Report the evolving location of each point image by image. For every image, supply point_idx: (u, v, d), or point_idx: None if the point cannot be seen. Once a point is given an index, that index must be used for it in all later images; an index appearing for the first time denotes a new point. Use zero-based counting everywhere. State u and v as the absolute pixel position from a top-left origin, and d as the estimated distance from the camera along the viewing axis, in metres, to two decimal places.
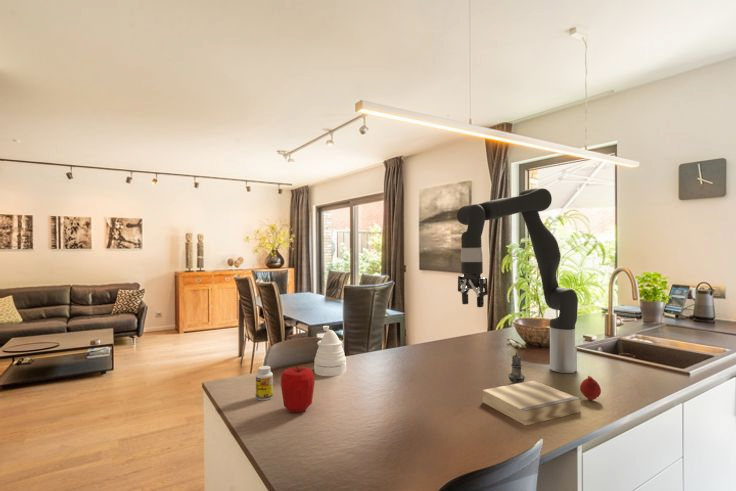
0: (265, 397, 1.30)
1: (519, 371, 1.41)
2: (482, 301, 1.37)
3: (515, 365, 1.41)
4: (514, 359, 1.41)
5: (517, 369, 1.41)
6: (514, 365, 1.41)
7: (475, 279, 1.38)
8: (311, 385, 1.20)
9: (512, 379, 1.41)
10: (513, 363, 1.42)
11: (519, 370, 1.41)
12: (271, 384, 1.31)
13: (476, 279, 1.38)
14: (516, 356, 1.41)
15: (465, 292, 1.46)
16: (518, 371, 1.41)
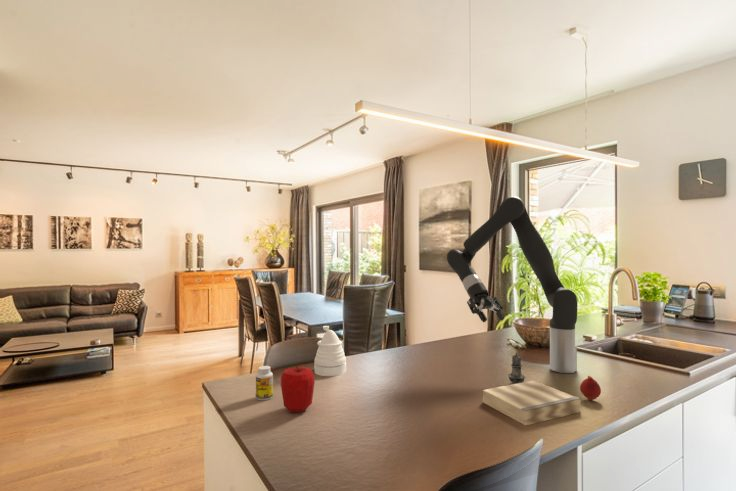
0: (265, 397, 1.30)
1: (519, 371, 1.41)
2: (480, 316, 1.52)
3: (515, 365, 1.41)
4: (514, 359, 1.41)
5: (517, 369, 1.41)
6: (514, 365, 1.41)
7: None
8: (311, 385, 1.20)
9: (512, 379, 1.41)
10: (513, 363, 1.42)
11: (519, 370, 1.41)
12: (271, 384, 1.31)
13: None
14: (516, 356, 1.41)
15: (497, 310, 1.57)
16: (518, 371, 1.41)
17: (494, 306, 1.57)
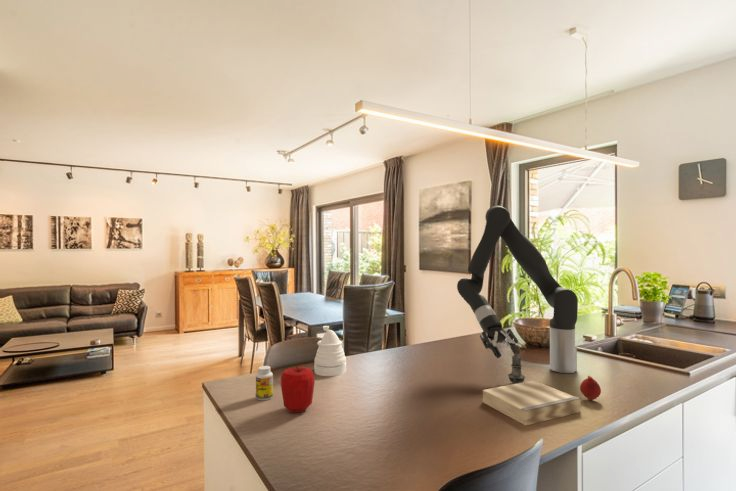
0: (265, 397, 1.30)
1: (519, 371, 1.41)
2: (494, 351, 1.45)
3: (515, 365, 1.41)
4: (514, 359, 1.41)
5: (517, 369, 1.41)
6: (514, 365, 1.41)
7: None
8: (311, 385, 1.20)
9: (512, 379, 1.41)
10: (513, 363, 1.42)
11: (519, 370, 1.41)
12: (271, 384, 1.31)
13: None
14: (516, 356, 1.41)
15: (511, 344, 1.50)
16: (518, 371, 1.41)
17: (508, 340, 1.50)
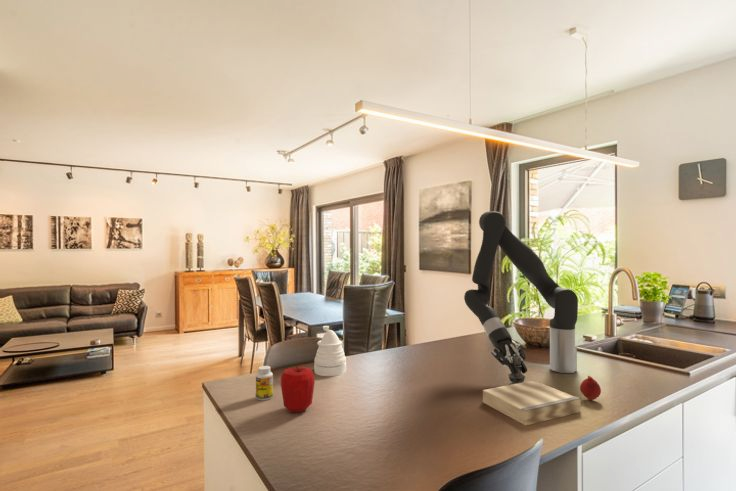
0: (265, 397, 1.30)
1: (519, 371, 1.41)
2: (511, 368, 1.40)
3: (515, 365, 1.41)
4: (514, 359, 1.41)
5: (517, 369, 1.41)
6: None
7: None
8: (311, 385, 1.20)
9: (512, 379, 1.41)
10: None
11: (519, 370, 1.41)
12: (271, 384, 1.31)
13: None
14: (516, 356, 1.41)
15: None
16: (518, 371, 1.41)
17: None
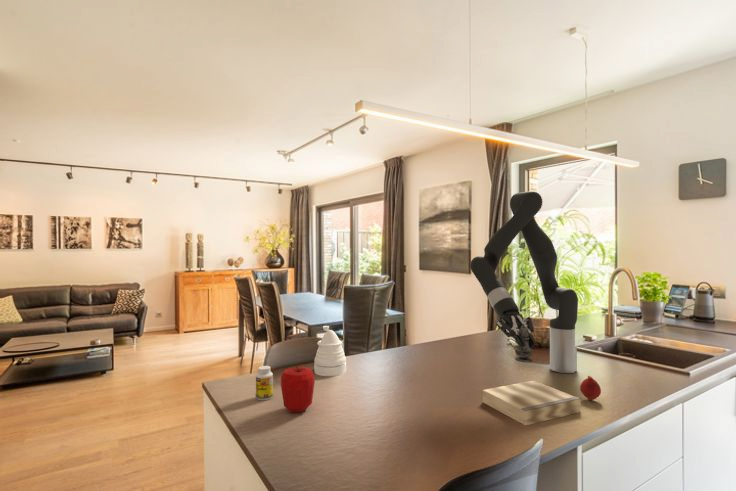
0: (265, 397, 1.30)
1: (526, 344, 1.29)
2: (517, 340, 1.28)
3: (522, 337, 1.29)
4: (521, 331, 1.29)
5: None
6: None
7: None
8: (311, 385, 1.20)
9: (519, 352, 1.29)
10: None
11: (526, 343, 1.29)
12: (271, 384, 1.31)
13: None
14: (523, 327, 1.29)
15: None
16: None
17: None
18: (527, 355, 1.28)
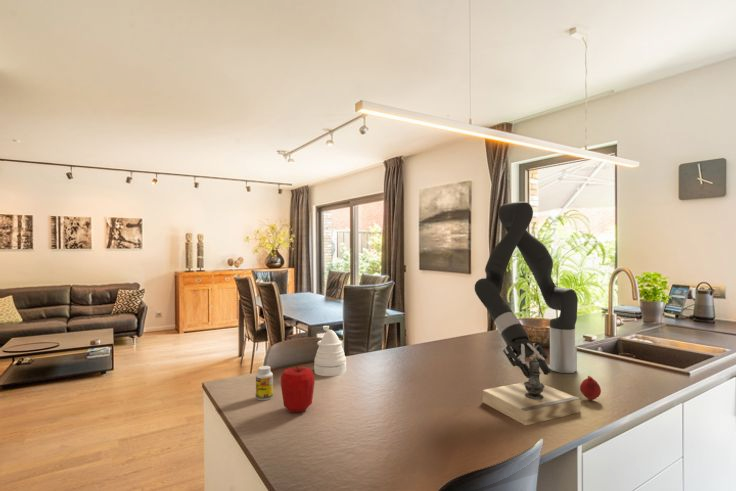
0: (265, 397, 1.30)
1: (537, 379, 1.21)
2: (524, 370, 1.20)
3: (533, 372, 1.21)
4: (531, 365, 1.21)
5: (535, 377, 1.20)
6: (531, 372, 1.21)
7: None
8: (311, 385, 1.20)
9: (529, 388, 1.20)
10: (530, 370, 1.21)
11: (537, 378, 1.21)
12: (271, 384, 1.31)
13: None
14: (534, 362, 1.21)
15: (539, 361, 1.24)
16: (536, 379, 1.20)
17: (536, 355, 1.24)
18: (538, 392, 1.20)
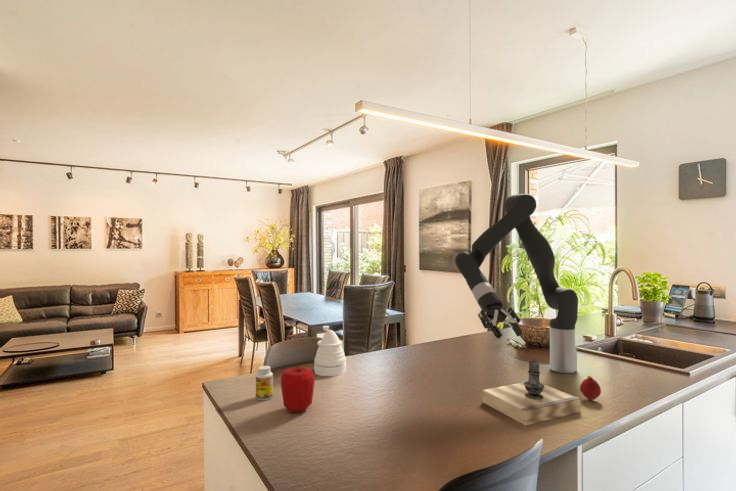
0: (265, 397, 1.30)
1: (537, 379, 1.21)
2: (494, 331, 1.30)
3: (532, 372, 1.21)
4: (531, 365, 1.21)
5: (534, 377, 1.21)
6: (531, 372, 1.21)
7: None
8: (311, 385, 1.20)
9: (529, 388, 1.20)
10: (530, 370, 1.21)
11: (537, 378, 1.21)
12: (271, 384, 1.31)
13: None
14: (534, 361, 1.21)
15: (512, 324, 1.36)
16: (536, 379, 1.21)
17: (509, 319, 1.36)
18: (538, 392, 1.20)
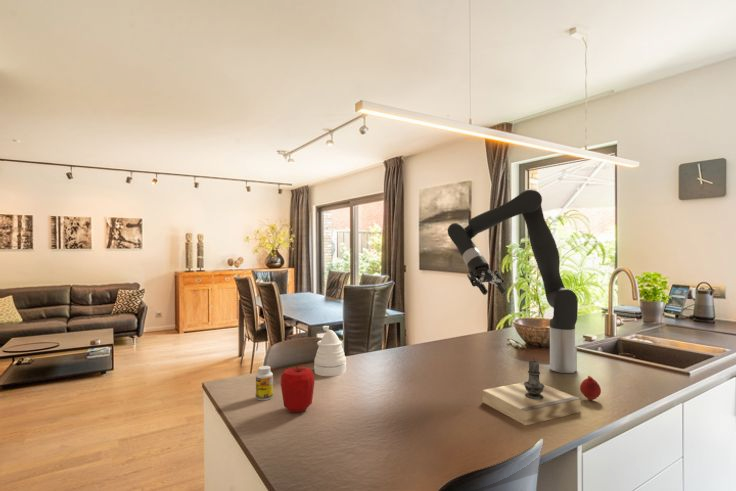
0: (265, 397, 1.30)
1: (537, 379, 1.21)
2: (481, 288, 1.49)
3: (533, 372, 1.21)
4: (531, 365, 1.21)
5: (534, 377, 1.21)
6: (531, 372, 1.21)
7: None
8: (311, 385, 1.20)
9: (529, 388, 1.20)
10: (530, 370, 1.21)
11: (537, 378, 1.21)
12: (271, 384, 1.31)
13: None
14: (534, 362, 1.21)
15: (498, 283, 1.54)
16: (536, 379, 1.20)
17: (495, 279, 1.54)
18: (538, 392, 1.20)
